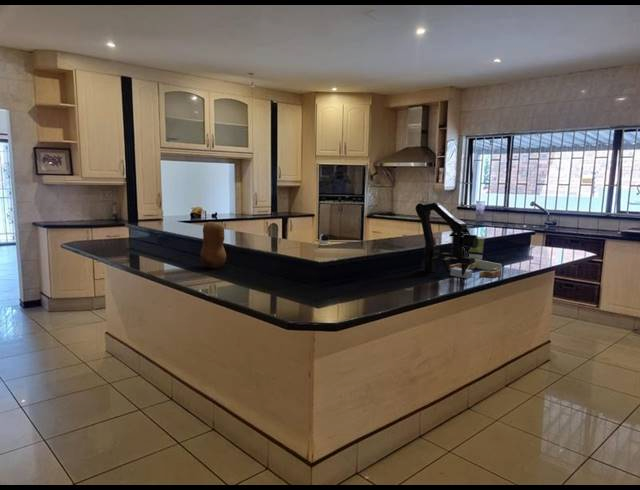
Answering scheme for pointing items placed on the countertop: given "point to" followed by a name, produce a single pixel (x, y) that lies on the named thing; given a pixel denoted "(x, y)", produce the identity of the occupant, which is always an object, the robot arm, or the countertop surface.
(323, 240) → the container
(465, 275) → the block
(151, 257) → the countertop surface
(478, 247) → the tea box
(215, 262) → the butternut squash
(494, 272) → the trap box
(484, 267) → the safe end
